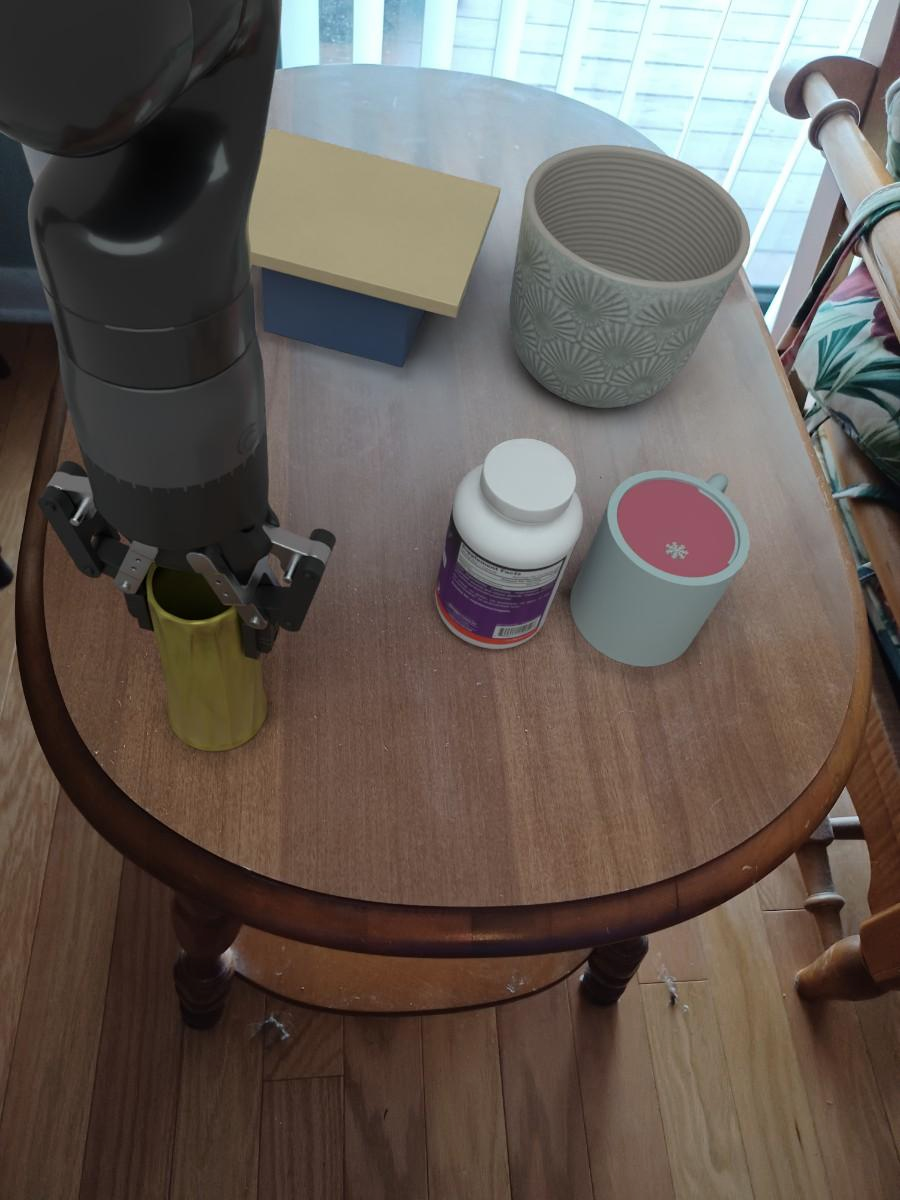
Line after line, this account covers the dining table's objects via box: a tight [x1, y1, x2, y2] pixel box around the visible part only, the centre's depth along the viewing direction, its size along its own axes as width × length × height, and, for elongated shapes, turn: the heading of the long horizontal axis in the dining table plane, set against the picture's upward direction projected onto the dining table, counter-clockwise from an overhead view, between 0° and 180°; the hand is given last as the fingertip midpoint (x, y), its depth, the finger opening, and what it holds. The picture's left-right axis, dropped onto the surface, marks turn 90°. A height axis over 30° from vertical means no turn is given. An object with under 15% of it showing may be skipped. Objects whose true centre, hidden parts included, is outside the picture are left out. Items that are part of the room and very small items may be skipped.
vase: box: [146, 561, 268, 752], centre depth 54 cm, size 6×6×14 cm
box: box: [248, 127, 501, 368], centre depth 79 cm, size 20×16×9 cm
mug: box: [569, 469, 751, 668], centre depth 65 cm, size 14×9×10 cm
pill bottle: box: [434, 437, 584, 650], centre depth 61 cm, size 8×8×14 cm
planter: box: [508, 144, 751, 409], centre depth 76 cm, size 17×17×15 cm
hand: (205, 630), depth 52 cm, fingers closed on vase, 5 cm apart
